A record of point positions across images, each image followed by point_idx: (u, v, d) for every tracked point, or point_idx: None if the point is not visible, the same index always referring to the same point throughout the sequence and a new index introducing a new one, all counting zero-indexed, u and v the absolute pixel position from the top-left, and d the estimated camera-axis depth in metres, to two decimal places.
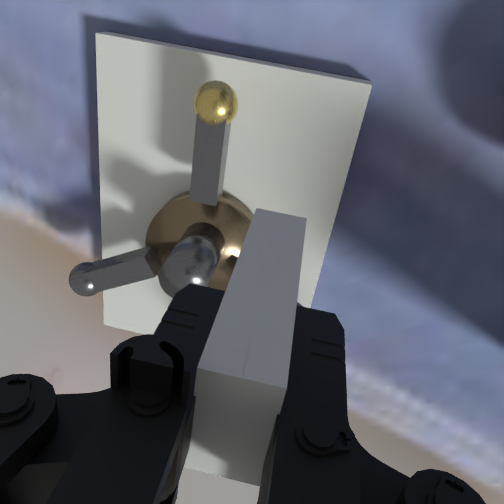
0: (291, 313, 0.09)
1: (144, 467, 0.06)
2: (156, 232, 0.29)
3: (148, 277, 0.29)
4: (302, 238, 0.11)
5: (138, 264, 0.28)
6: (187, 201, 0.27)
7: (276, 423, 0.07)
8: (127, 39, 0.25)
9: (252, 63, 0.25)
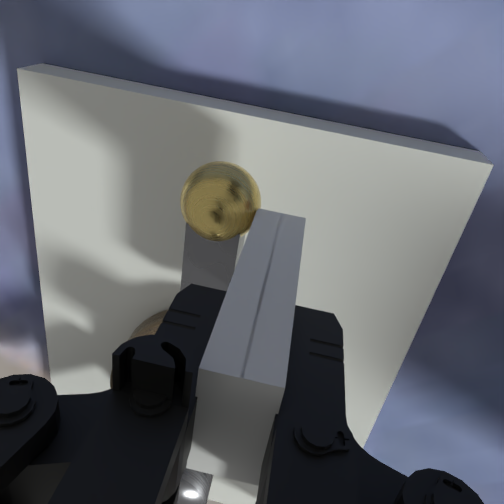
0: (290, 312, 0.09)
1: (146, 467, 0.06)
2: None
3: None
4: (301, 238, 0.11)
5: None
6: None
7: (274, 423, 0.07)
8: (71, 80, 0.15)
9: (284, 124, 0.14)
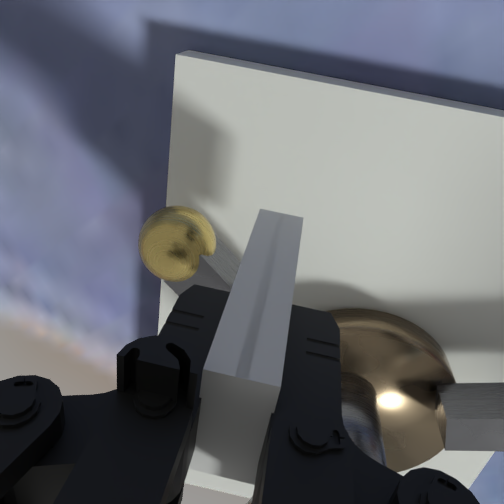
0: (286, 312, 0.09)
1: (150, 469, 0.06)
2: None
3: None
4: (298, 237, 0.11)
5: None
6: None
7: (270, 422, 0.07)
8: (235, 66, 0.14)
9: (473, 113, 0.13)
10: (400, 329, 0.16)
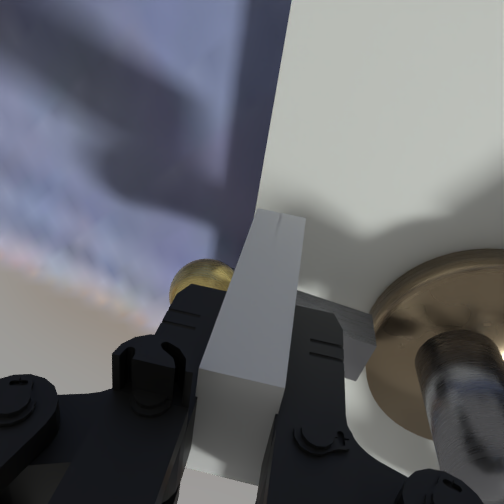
0: (290, 313, 0.09)
1: (146, 467, 0.06)
2: (416, 420, 0.17)
3: None
4: (301, 238, 0.11)
5: None
6: (370, 364, 0.16)
7: (274, 423, 0.07)
8: None
9: None
10: (472, 262, 0.14)
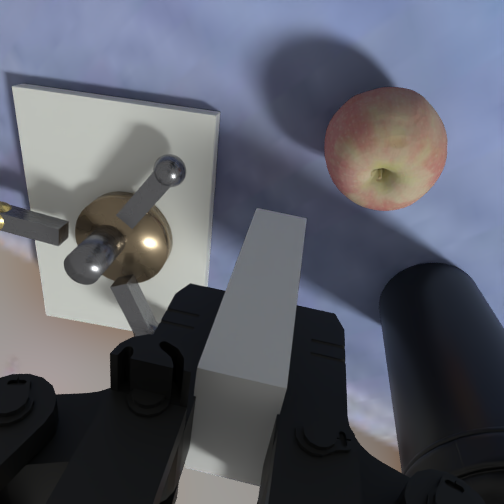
0: (291, 313, 0.09)
1: (144, 467, 0.06)
2: (108, 272, 0.38)
3: (127, 288, 0.37)
4: (302, 238, 0.11)
5: (117, 292, 0.37)
6: (79, 245, 0.37)
7: (276, 423, 0.07)
8: (35, 90, 0.33)
9: (128, 103, 0.33)
10: (103, 196, 0.36)
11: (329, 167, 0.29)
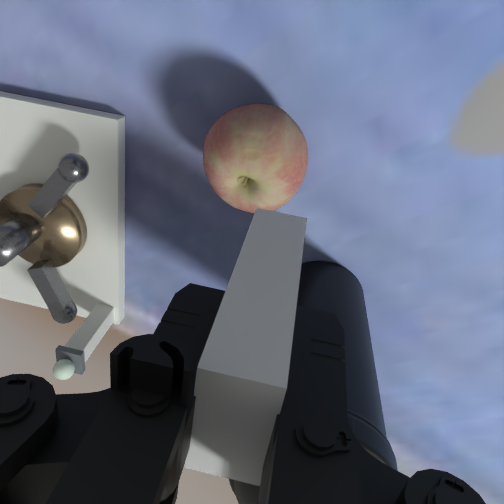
0: (291, 313, 0.09)
1: (144, 467, 0.06)
2: (28, 256, 0.42)
3: (42, 271, 0.41)
4: (302, 238, 0.11)
5: (33, 275, 0.41)
6: None
7: (276, 423, 0.07)
8: None
9: (40, 104, 0.36)
10: (20, 187, 0.39)
11: (205, 172, 0.32)
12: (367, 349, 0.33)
